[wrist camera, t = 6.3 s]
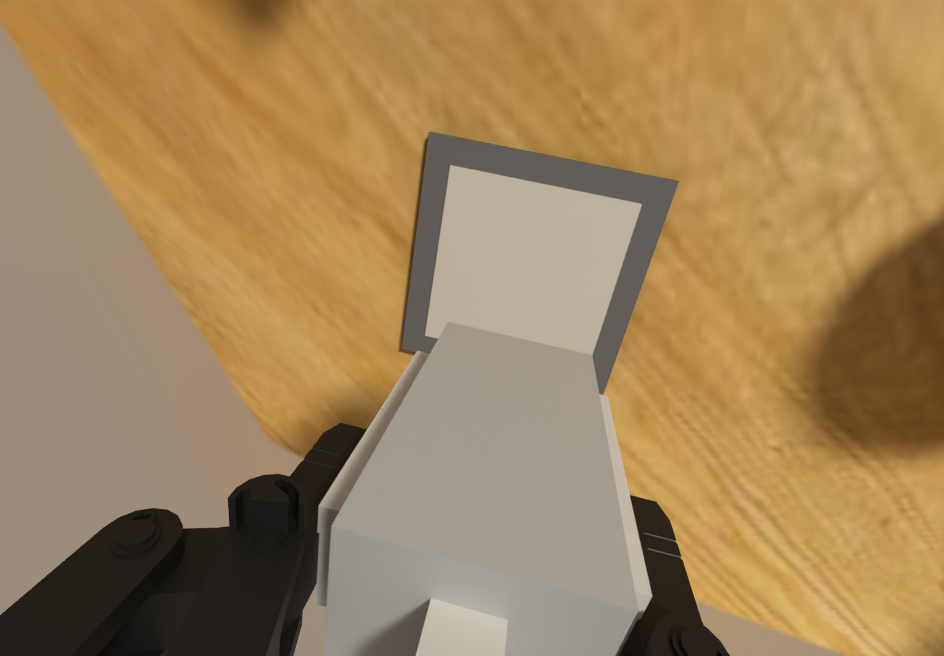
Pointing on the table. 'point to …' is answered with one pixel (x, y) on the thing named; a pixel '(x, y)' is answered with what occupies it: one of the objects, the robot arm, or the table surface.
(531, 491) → the usb dongle
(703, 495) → the table surface
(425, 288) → the charcoal picture frame
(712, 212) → the table surface
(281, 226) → the table surface
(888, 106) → the table surface
